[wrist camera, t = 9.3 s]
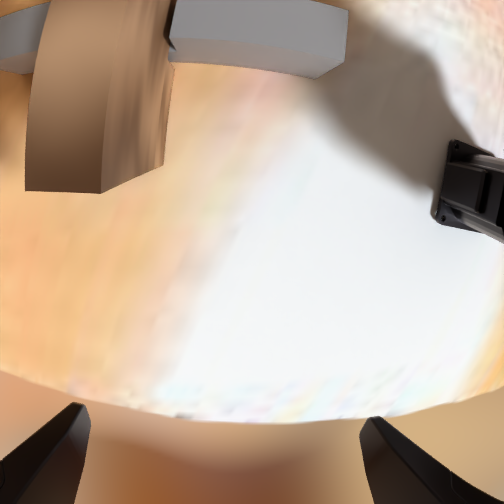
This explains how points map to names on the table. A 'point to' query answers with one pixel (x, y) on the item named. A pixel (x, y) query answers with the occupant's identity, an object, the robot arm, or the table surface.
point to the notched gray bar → (217, 35)
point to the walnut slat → (99, 95)
